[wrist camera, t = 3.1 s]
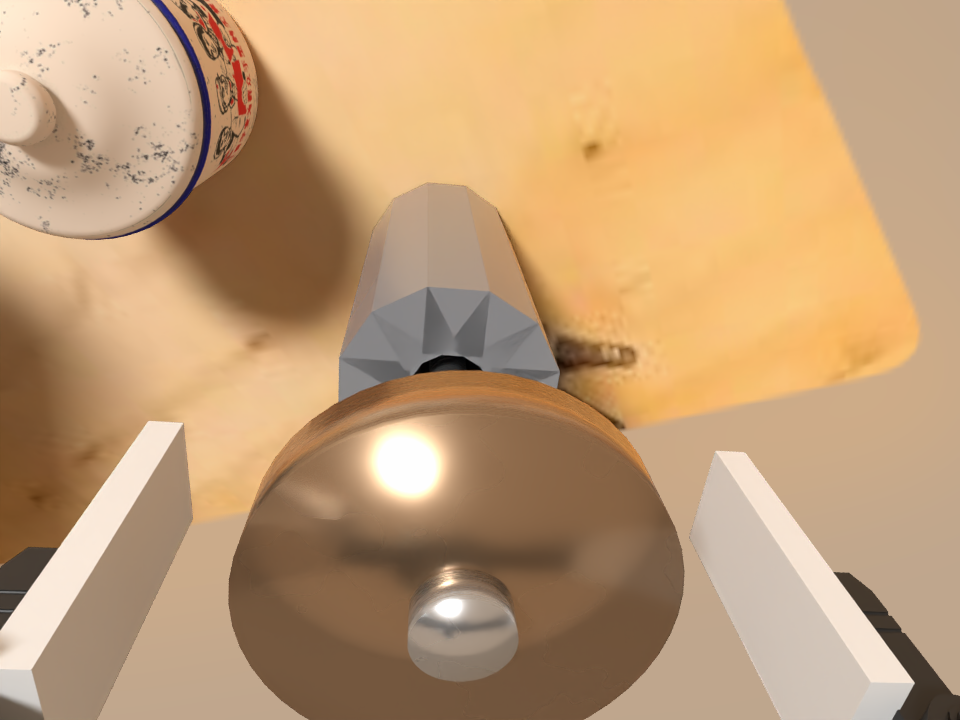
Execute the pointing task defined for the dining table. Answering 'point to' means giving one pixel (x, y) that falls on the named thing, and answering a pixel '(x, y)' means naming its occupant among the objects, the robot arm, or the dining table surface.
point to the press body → (442, 295)
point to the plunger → (455, 556)
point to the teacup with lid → (117, 110)
